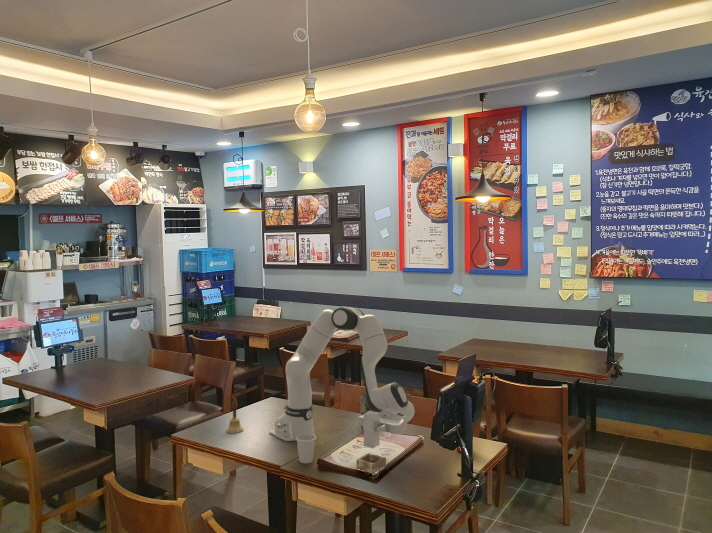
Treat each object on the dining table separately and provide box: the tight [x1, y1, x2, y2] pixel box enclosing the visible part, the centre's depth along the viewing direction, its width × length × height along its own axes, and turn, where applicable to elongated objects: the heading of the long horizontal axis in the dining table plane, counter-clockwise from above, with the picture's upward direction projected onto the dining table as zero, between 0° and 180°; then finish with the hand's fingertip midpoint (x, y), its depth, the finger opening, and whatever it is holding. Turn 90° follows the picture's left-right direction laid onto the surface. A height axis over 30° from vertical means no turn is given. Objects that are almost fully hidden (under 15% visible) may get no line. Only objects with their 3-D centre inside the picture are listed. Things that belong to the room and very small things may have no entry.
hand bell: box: [225, 397, 244, 434], centre depth 254 cm, size 8×8×16 cm
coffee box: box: [359, 391, 374, 428], centre depth 262 cm, size 9×6×16 cm
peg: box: [363, 411, 380, 449], centre depth 209 cm, size 4×4×13 cm
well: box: [356, 452, 387, 473], centre depth 210 cm, size 8×8×4 cm
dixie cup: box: [296, 434, 317, 464], centre depth 218 cm, size 8×8×10 cm
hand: (370, 428), depth 208 cm, fingers closed on peg, 4 cm apart
